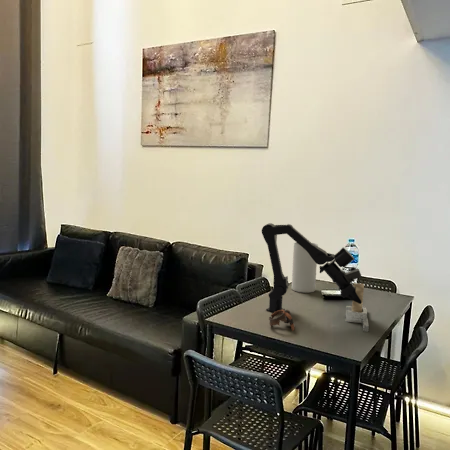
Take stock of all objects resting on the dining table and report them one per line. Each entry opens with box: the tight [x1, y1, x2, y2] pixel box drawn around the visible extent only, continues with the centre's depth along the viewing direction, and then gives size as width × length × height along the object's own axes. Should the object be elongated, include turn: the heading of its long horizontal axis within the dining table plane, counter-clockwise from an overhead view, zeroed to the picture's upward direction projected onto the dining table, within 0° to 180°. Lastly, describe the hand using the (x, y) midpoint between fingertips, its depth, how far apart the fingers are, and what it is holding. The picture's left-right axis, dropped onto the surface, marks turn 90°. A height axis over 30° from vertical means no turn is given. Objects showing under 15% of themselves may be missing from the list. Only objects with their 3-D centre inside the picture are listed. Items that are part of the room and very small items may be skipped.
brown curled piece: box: [268, 309, 296, 332], centre depth 176 cm, size 12×10×8 cm
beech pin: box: [351, 282, 365, 312], centre depth 188 cm, size 4×4×14 cm
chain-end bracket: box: [345, 305, 370, 333], centre depth 188 cm, size 9×28×4 cm, turn 165°
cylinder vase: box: [291, 241, 319, 294], centre depth 234 cm, size 12×12×25 cm
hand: (360, 301), depth 187 cm, fingers closed on beech pin, 4 cm apart
